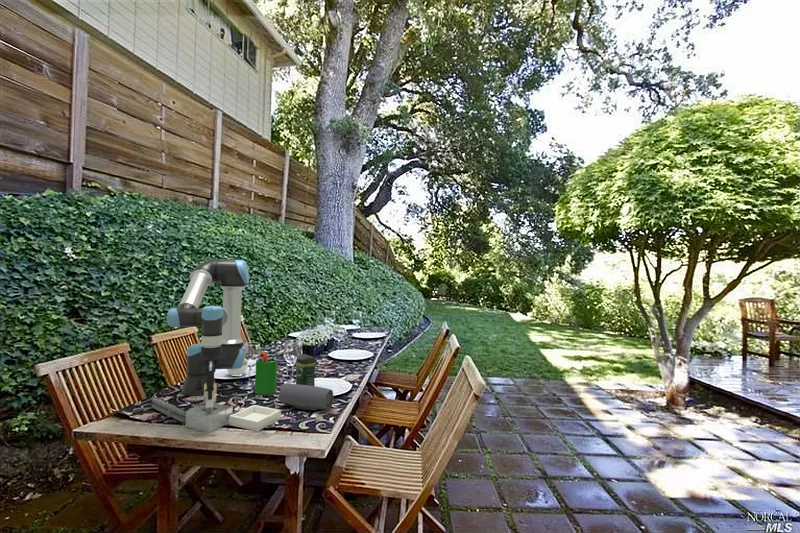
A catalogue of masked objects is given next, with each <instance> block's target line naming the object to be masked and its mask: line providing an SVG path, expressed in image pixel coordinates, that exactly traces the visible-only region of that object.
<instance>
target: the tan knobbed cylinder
mask: <svg viewBox="0 0 800 533" xmlns="http://www.w3.org/2000/svg"><path fill="white" fill-rule="evenodd" d="M217 384H218V383H217V382H216V381H215V382H214V403H216V402H217V388H218V387H217V386H218V385H217ZM206 389H207V383H205V384H204V395H203V403H204V404H205V411H208V412H211V411H213V410H214V407H210V408H206V391H205V390H206Z"/></svg>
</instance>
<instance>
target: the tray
mask: <svg viewBox="0 0 800 533" xmlns="http://www.w3.org/2000/svg"><path fill="white" fill-rule="evenodd" d="M281 418H282V409H278V408H277V409H276V408H272V407H266V406H261V405H257V404H253V405H251V406H248V407H246V408H244V409H241V410H239V411H237V412H235V413H233V414H232V415H230V416H229V424H228V425H229V426H233V427H237V428H242V429H246V430H250V431H255V432H259V431H260V430H262V429H265V428H266V427H268V426H270V425H272V424H274V423H275V422H277V421H279V420H281Z"/></svg>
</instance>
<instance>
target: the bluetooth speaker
mask: <svg viewBox="0 0 800 533" xmlns="http://www.w3.org/2000/svg"><path fill="white" fill-rule="evenodd" d="M334 399H335V396H334V392H333V390H332V389H330V388H326V387H321V386H316V385H315V386H309V385H299V384H296V383H283V385H281V387H280V390H279V393H278V400H279V402H280V403H283V404H286V405H291V406H294V408H295V409H300V410H307V411H316V410H318V409H321V410H329V409H330V408H331V407H332V405H333V403H334Z"/></svg>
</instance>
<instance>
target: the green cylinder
mask: <svg viewBox="0 0 800 533" xmlns="http://www.w3.org/2000/svg"><path fill="white" fill-rule="evenodd" d="M268 356H269V355H268V353H267V352H260V356H259V357H260V358H258V359H256V360H255V379H254V380H255V381H254V383H255V384H254V394H255V395H258V396H259V395H260V396H269V395H274V394H275V393H277V381H278V380H277V377H278V376H277V375H278V360H273V361H271V360H269V357H268Z"/></svg>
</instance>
